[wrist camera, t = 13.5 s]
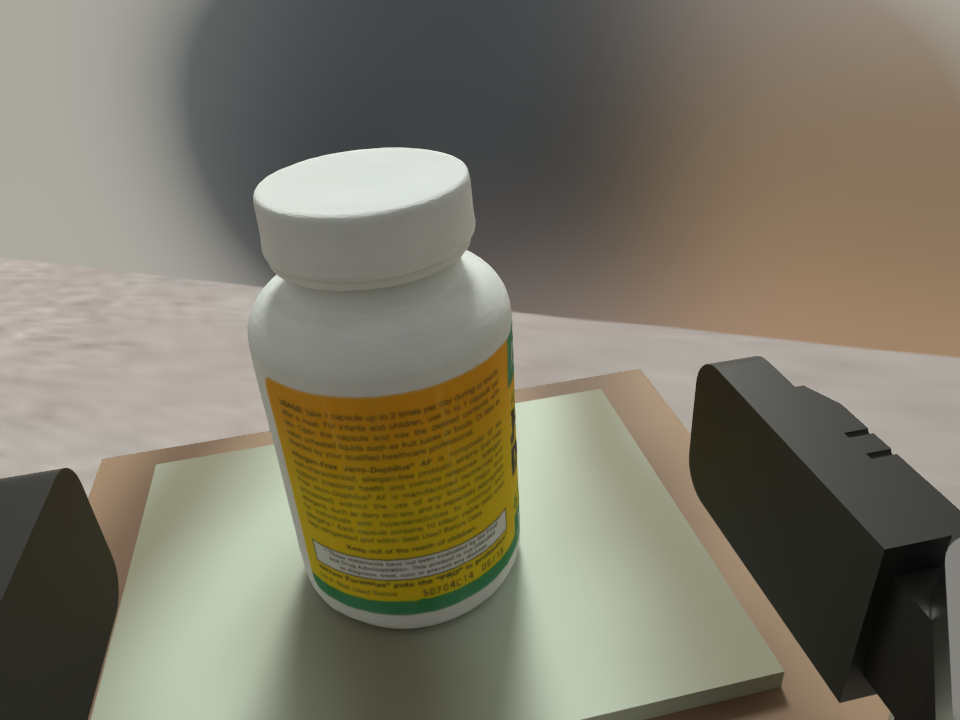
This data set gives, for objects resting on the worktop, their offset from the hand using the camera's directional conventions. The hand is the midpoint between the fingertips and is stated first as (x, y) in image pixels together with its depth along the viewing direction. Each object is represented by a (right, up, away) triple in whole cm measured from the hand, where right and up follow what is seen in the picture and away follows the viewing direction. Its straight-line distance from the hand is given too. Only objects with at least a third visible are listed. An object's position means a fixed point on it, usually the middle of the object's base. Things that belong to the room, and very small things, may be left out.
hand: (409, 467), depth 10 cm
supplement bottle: (-1, -4, +9) cm, 10 cm away
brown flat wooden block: (-1, -6, +11) cm, 12 cm away
